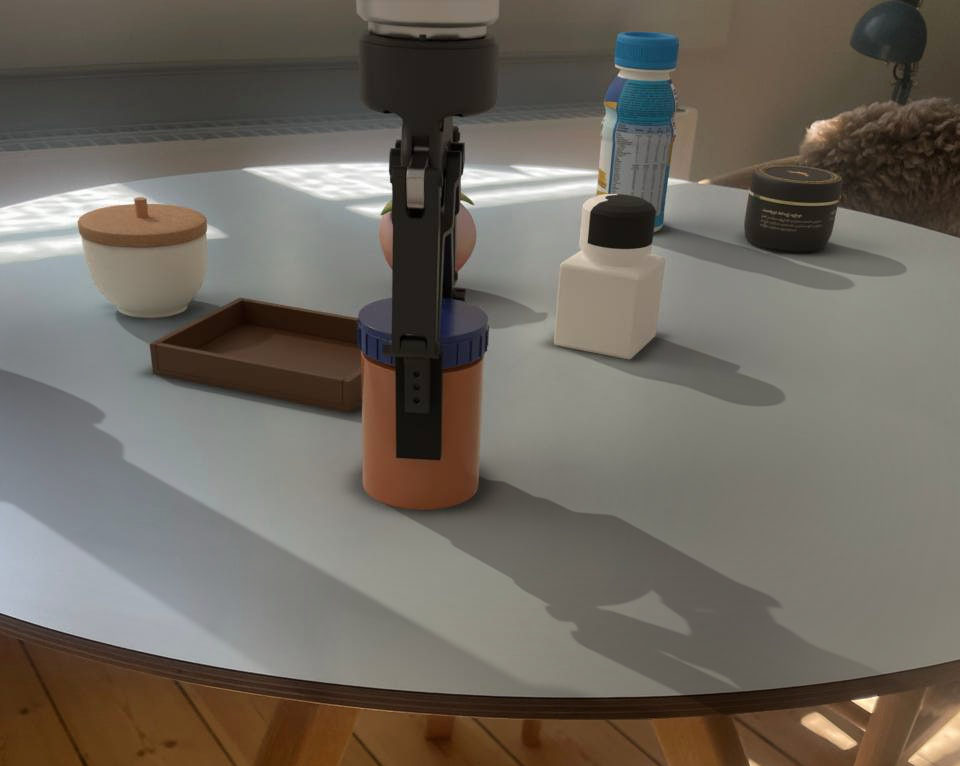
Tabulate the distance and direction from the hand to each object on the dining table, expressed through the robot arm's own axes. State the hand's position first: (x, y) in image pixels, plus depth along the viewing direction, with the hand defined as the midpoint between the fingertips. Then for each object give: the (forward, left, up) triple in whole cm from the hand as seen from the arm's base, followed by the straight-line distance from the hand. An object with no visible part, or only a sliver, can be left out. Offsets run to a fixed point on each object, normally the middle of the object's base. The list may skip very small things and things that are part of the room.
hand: (425, 429), depth 74 cm
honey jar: (0, 0, -4) cm, 4 cm away
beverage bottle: (-6, +73, -4) cm, 73 cm away
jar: (+12, +75, -4) cm, 76 cm away
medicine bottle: (+3, +33, -4) cm, 33 cm away
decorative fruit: (-17, +39, -4) cm, 43 cm away
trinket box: (-36, +22, -4) cm, 43 cm away
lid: (0, 0, +7) cm, 7 cm away
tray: (-18, +15, -4) cm, 24 cm away
